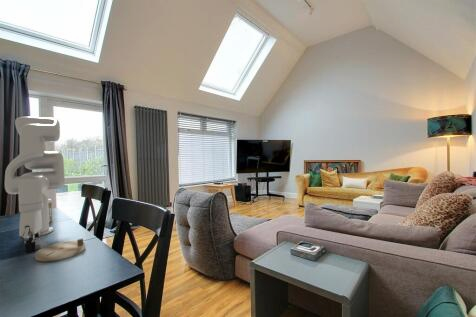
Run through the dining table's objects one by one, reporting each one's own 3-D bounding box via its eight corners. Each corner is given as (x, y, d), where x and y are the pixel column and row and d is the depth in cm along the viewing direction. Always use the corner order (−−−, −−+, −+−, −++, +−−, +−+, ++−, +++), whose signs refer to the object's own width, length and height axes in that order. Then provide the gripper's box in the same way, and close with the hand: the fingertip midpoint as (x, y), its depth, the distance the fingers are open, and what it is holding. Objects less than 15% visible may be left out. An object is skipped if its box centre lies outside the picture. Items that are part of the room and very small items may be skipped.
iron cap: (22, 251, 96) (22, 239, 96) (37, 246, 100) (37, 235, 100) (28, 253, 94) (27, 241, 93) (43, 248, 98) (42, 237, 98)
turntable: (60, 243, 102) (59, 234, 102) (93, 244, 100) (93, 235, 100) (23, 260, 86) (23, 250, 86) (63, 261, 85) (62, 251, 84)
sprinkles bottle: (53, 220, 141) (52, 198, 140) (51, 222, 137) (50, 199, 136) (44, 221, 139) (43, 199, 138) (41, 223, 135) (40, 200, 134)
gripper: (27, 203, 103) (29, 243, 103) (10, 212, 87) (12, 259, 88) (48, 202, 106) (50, 240, 106) (35, 210, 90) (37, 255, 91)
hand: (33, 248), depth 97 cm, fingers closed on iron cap, 5 cm apart
